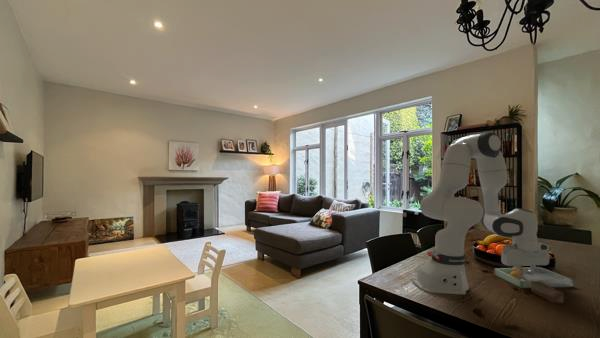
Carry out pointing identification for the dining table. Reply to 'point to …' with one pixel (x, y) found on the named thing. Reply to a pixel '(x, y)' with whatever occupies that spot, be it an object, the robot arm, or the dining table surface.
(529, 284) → the tray
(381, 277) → the dining table surface
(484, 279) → the dining table surface
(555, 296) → the taupe rectangular slab
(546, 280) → the grey metal shallow bin
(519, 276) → the ball
